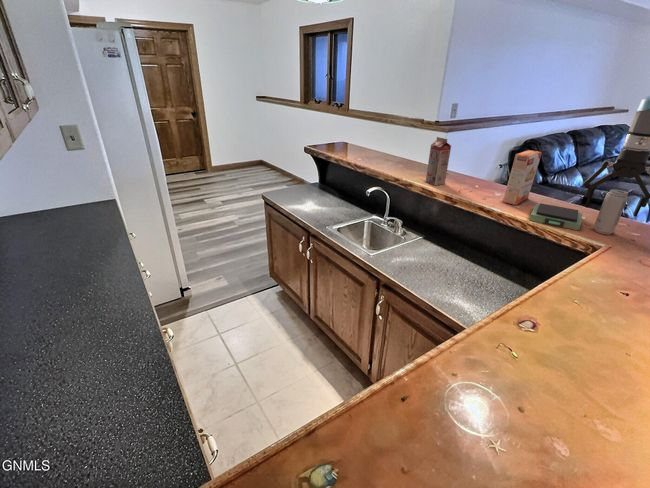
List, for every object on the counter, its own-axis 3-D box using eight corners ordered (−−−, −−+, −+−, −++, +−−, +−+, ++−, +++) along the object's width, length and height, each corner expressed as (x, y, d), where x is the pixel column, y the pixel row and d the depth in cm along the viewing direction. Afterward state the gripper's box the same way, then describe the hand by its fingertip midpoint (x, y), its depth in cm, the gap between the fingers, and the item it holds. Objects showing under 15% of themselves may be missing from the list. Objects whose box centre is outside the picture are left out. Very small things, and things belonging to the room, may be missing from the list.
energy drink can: (593, 226, 128) (609, 187, 122) (613, 231, 125) (630, 191, 118) (591, 231, 124) (607, 191, 118) (612, 236, 121) (629, 195, 114)
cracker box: (516, 206, 147) (530, 156, 138) (502, 202, 151) (514, 153, 142) (529, 199, 156) (542, 151, 146) (515, 195, 160) (527, 149, 150)
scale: (580, 218, 135) (582, 212, 134) (578, 231, 124) (581, 225, 123) (533, 209, 144) (535, 204, 142) (528, 221, 132) (530, 215, 131)
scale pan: (577, 212, 134) (578, 210, 134) (576, 221, 125) (577, 219, 125) (539, 204, 141) (540, 203, 140) (536, 213, 132) (536, 211, 132)
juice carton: (434, 185, 172) (442, 139, 162) (425, 181, 178) (432, 137, 168) (444, 183, 175) (452, 138, 165) (435, 180, 180) (442, 136, 170)
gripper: (589, 145, 115) (567, 205, 125) (691, 156, 103) (658, 223, 112) (589, 142, 120) (568, 200, 130) (686, 152, 108) (655, 215, 118)
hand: (610, 210), depth 121 cm, fingers open, 13 cm apart
